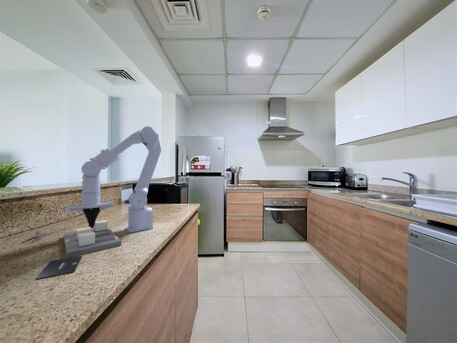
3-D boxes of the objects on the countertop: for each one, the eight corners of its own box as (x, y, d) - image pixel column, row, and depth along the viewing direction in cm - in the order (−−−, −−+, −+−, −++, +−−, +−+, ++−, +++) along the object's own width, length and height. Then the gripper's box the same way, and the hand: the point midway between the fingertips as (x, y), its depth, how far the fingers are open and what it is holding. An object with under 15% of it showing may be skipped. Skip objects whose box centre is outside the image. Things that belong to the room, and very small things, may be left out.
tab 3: (105, 227, 79) (106, 220, 79) (107, 229, 76) (107, 221, 76) (94, 229, 76) (94, 221, 76) (95, 231, 74) (95, 223, 74)
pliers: (71, 224, 88) (57, 237, 70) (71, 226, 88) (57, 240, 70) (42, 227, 83) (20, 242, 65) (42, 229, 83) (20, 245, 65)
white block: (93, 240, 64) (93, 231, 64) (95, 243, 62) (95, 233, 62) (78, 243, 61) (78, 234, 61) (79, 246, 59) (79, 236, 59)
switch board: (107, 229, 81) (107, 225, 81) (121, 245, 65) (121, 240, 65) (63, 237, 72) (63, 233, 72) (67, 257, 55) (67, 252, 55)
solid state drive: (82, 257, 56) (82, 255, 56) (74, 274, 47) (74, 271, 47) (50, 263, 53) (50, 260, 53) (35, 281, 44) (35, 278, 44)
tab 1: (90, 235, 70) (90, 226, 70) (91, 237, 67) (91, 228, 67) (76, 237, 67) (76, 228, 67) (77, 240, 64) (77, 231, 64)
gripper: (110, 190, 82) (110, 222, 82) (66, 193, 72) (66, 229, 72) (114, 192, 77) (114, 225, 77) (67, 195, 67) (67, 233, 67)
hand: (91, 227), depth 74 cm, fingers closed
